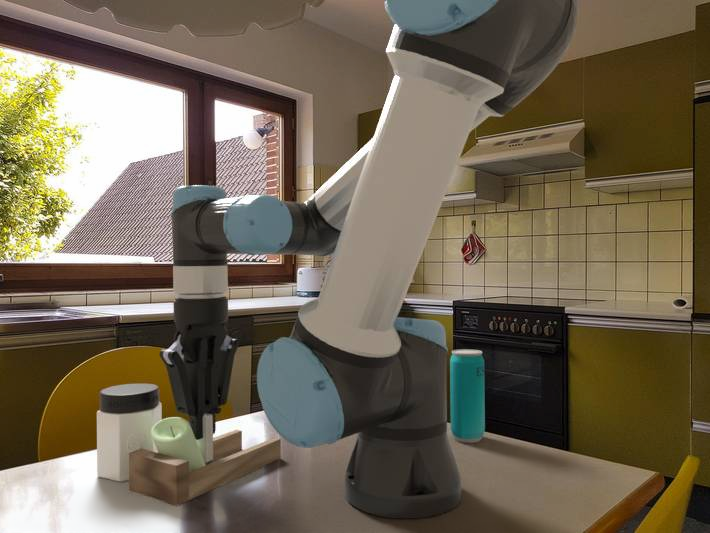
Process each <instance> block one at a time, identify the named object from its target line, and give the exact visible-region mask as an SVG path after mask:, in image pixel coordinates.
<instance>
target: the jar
mask: <svg viewBox="0 0 710 533" xmlns="http://www.w3.org/2000/svg"><path fill="white" fill-rule="evenodd" d="M162 407H163V406H162V402H160V387H159V386H158V385H157V384H152V383H141V382H140V383H126V384H117V385H113V386H108V387H106V388H103V389H101V390H100V391H99V410H97V411H96V458H97V459H96V460H97V461H96V463H97V464H96V465H97V466H96V470H97V472H96V473H97V475H96V476H97V477H98V478H101V479H107V480H111V481H115V482H118V483H121V482H126V481H129V453H130V452H133V451H136V450H139V449H146V450H149V451H153V452H157V453H159V452H158V450H157V448H156V445H155V443H154V440H153V438H152V435H151V429H152V427H153V426H154V425H155V424H156V423H157V422H159V421H160V420H163V418H162V416H163V415H162V413H163V412H162V409H163V408H162Z"/></svg>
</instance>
